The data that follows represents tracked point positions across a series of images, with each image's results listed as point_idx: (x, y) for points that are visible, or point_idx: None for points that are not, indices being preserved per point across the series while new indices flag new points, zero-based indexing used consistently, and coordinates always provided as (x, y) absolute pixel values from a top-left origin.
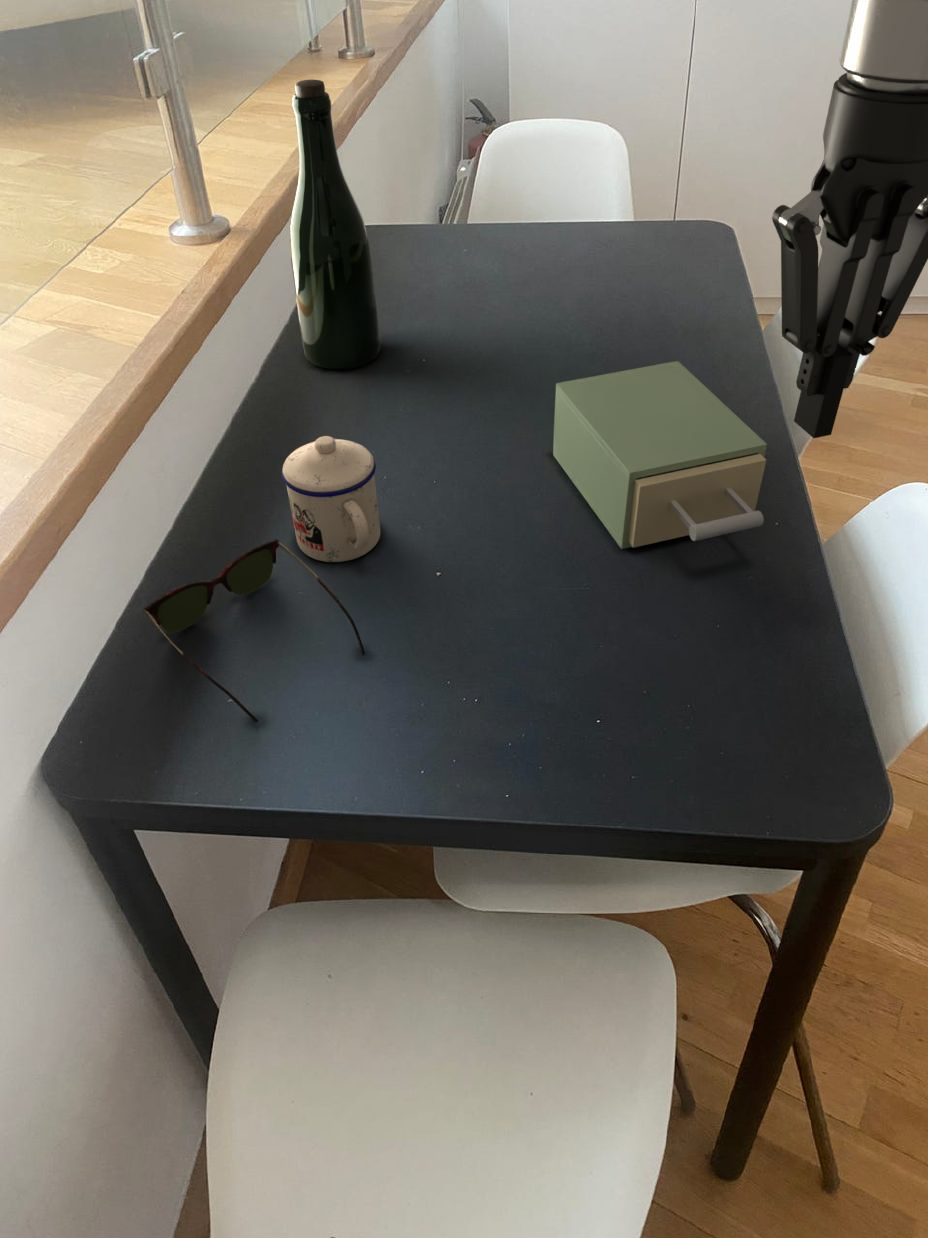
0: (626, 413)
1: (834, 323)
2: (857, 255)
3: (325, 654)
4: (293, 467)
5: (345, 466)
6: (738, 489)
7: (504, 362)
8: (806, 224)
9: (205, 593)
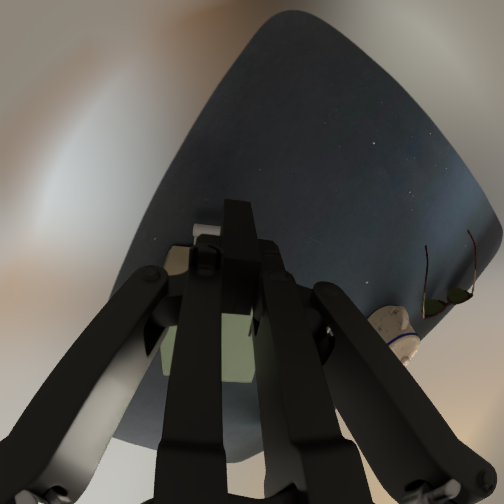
0: (230, 349)
1: (291, 312)
2: (338, 454)
3: (433, 253)
4: (414, 352)
5: (402, 347)
6: (185, 264)
7: (223, 402)
8: (479, 487)
9: (450, 300)
